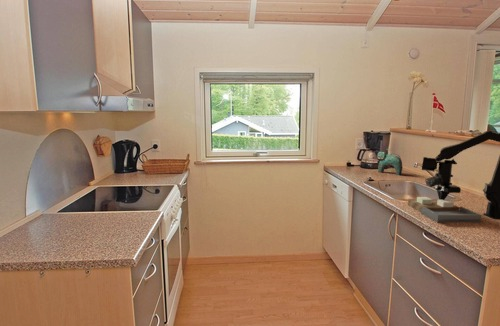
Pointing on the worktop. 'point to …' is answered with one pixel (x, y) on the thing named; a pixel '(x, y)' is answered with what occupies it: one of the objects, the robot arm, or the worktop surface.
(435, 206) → the walnut plate
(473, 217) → the box
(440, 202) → the white tile
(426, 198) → the sage tile
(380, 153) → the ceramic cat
